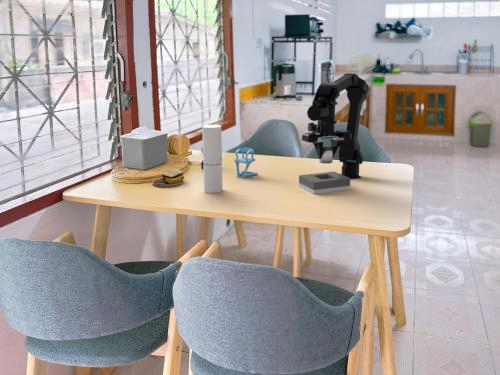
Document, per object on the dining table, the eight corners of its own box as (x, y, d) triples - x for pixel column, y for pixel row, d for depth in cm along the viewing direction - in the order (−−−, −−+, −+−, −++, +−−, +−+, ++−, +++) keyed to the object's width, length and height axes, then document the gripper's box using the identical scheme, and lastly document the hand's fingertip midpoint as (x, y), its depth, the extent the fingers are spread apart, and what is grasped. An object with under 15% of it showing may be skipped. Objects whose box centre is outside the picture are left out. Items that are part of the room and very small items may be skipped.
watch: (200, 169, 245) (200, 145, 242) (203, 165, 253) (202, 142, 250) (213, 170, 245) (212, 145, 242) (215, 165, 253) (214, 142, 250)
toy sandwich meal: (146, 183, 224) (146, 172, 222) (174, 178, 232) (174, 167, 231) (162, 189, 214) (162, 178, 213) (191, 183, 223) (191, 172, 222)
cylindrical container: (225, 188, 214) (224, 125, 208) (218, 193, 208) (216, 128, 201) (208, 187, 217) (206, 124, 210) (201, 191, 210) (199, 127, 203)
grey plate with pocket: (333, 182, 223) (334, 171, 222) (349, 189, 212) (350, 178, 211) (298, 186, 217) (299, 175, 216) (313, 194, 206) (313, 182, 205)
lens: (328, 160, 215) (328, 145, 213) (334, 162, 210) (335, 147, 209) (317, 161, 213) (317, 146, 211) (323, 164, 208) (324, 148, 207)
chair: (232, 176, 233) (231, 149, 230) (242, 172, 240) (242, 145, 237) (247, 178, 229) (247, 150, 226) (257, 174, 236) (257, 147, 233)
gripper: (337, 113, 218) (335, 152, 222) (295, 116, 211) (294, 156, 215) (352, 117, 208) (351, 157, 212) (309, 120, 201) (308, 162, 205)
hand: (326, 158), depth 211 cm, fingers closed on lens, 5 cm apart
